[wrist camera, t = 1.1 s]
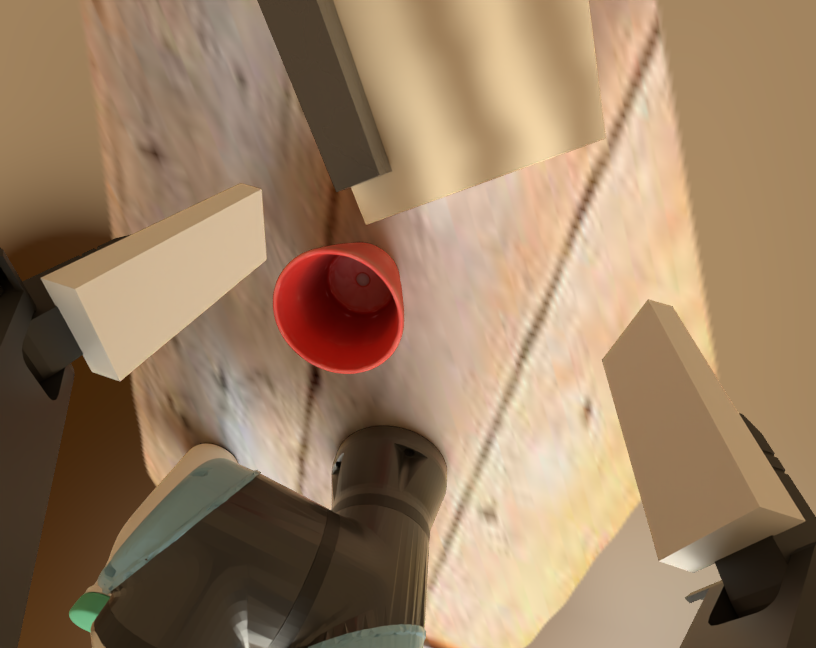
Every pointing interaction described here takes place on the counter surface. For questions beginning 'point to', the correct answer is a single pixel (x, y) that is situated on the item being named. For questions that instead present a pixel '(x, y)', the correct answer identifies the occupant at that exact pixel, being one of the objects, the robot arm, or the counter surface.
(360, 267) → the flower pot
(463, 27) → the stool seat
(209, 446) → the milk bottle
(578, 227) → the counter surface
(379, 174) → the folding leg
